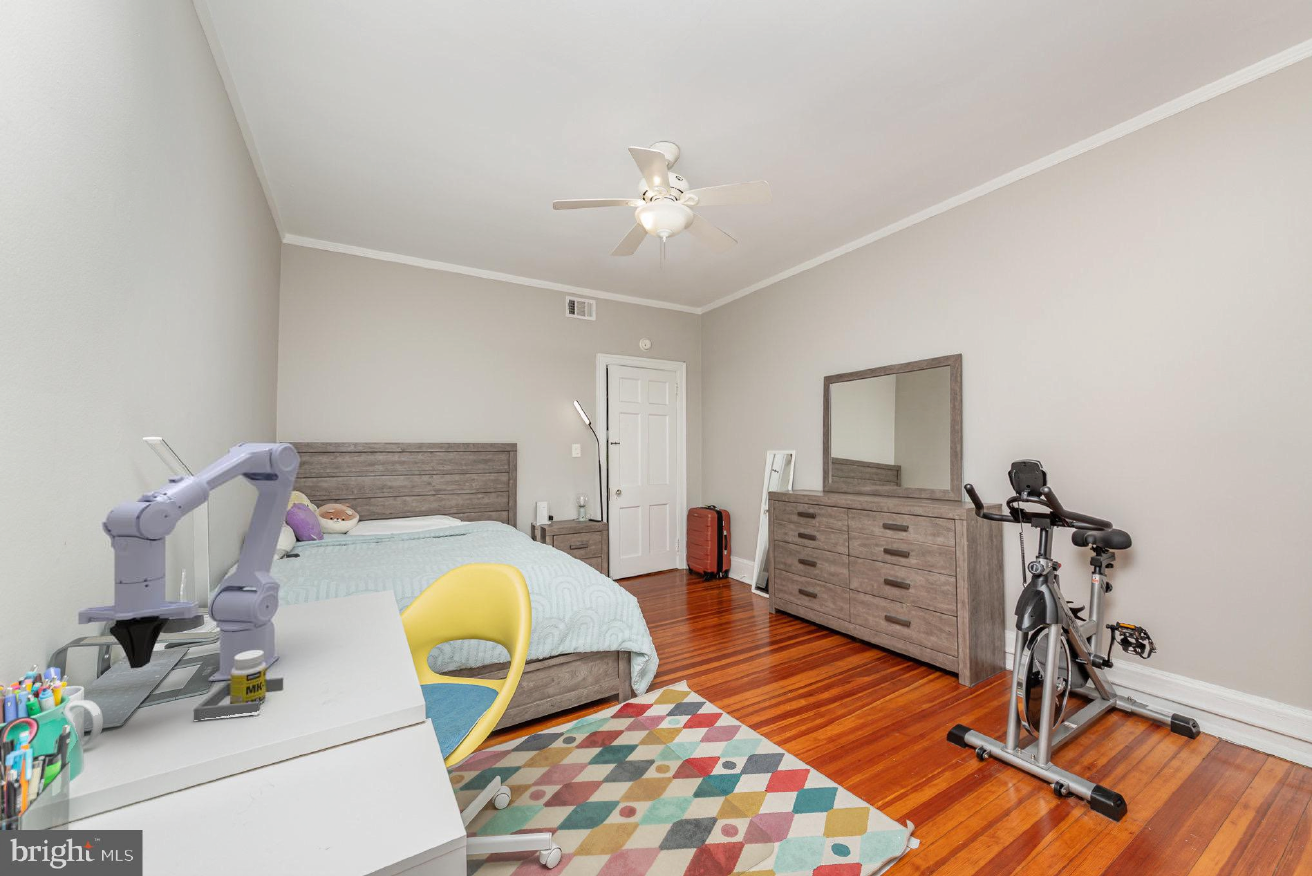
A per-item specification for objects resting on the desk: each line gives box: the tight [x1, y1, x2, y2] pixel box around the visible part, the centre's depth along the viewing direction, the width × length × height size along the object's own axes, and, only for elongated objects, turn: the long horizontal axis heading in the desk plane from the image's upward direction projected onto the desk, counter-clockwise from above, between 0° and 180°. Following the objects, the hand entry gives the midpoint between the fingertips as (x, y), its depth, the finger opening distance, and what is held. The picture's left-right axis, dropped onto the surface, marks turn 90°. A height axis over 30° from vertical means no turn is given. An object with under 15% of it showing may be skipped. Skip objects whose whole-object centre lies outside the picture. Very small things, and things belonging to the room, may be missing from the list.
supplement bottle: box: [229, 650, 267, 704], centre depth 90 cm, size 5×5×8 cm
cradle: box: [193, 677, 284, 721], centre depth 90 cm, size 9×9×2 cm
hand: (140, 665), depth 83 cm, fingers closed
